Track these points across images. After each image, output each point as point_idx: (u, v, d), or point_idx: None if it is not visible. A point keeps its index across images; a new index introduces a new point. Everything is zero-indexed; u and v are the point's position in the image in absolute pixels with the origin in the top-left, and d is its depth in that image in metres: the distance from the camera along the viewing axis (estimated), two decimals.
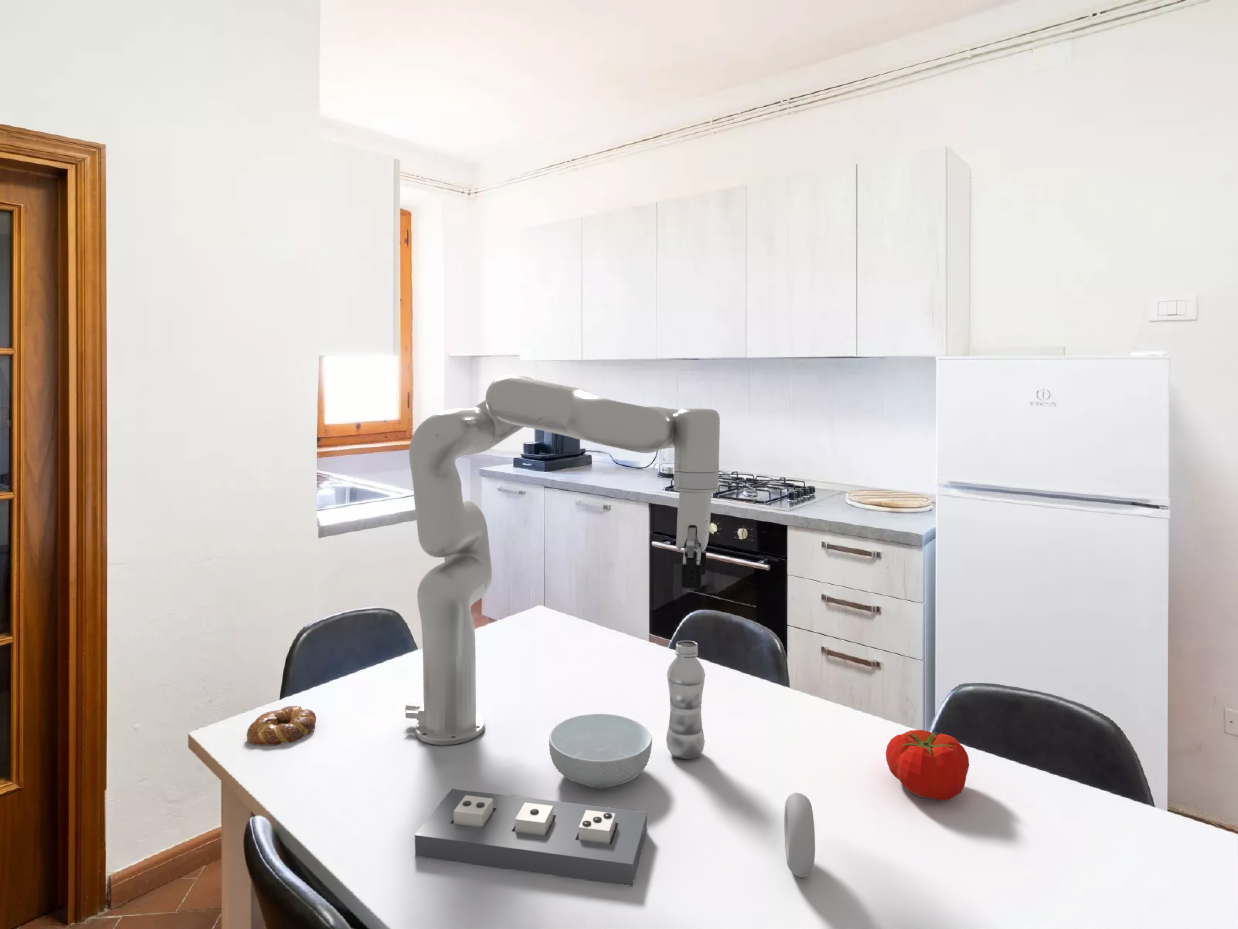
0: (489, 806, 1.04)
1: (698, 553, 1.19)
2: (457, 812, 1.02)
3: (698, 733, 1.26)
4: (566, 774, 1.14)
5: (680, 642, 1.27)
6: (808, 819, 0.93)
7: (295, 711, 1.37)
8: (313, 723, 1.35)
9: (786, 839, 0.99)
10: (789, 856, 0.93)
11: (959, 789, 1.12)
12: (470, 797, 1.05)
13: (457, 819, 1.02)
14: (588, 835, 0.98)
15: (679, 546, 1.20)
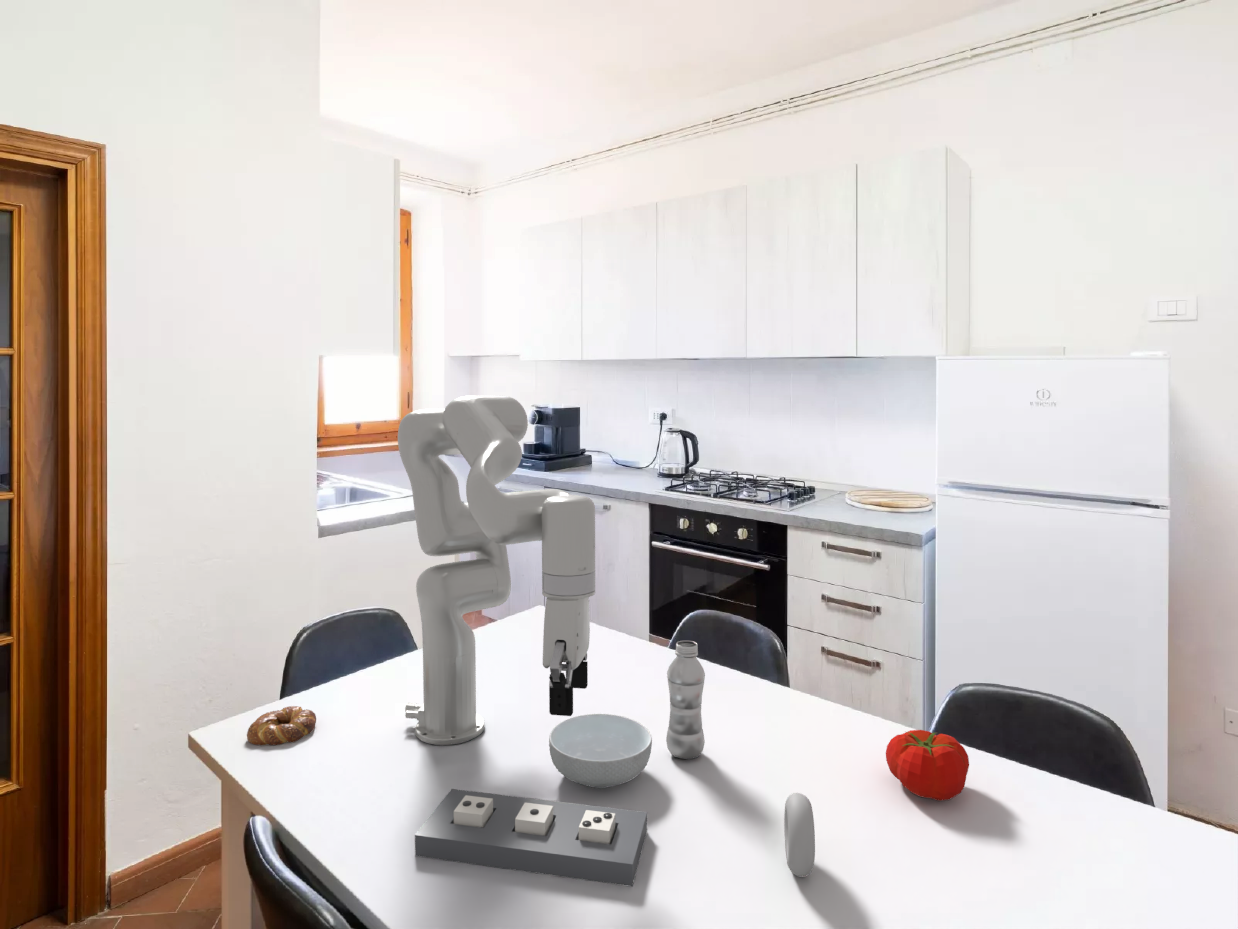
0: (489, 806, 1.04)
1: (568, 673, 0.99)
2: (457, 812, 1.02)
3: (698, 733, 1.26)
4: (566, 774, 1.14)
5: (680, 642, 1.27)
6: (808, 819, 0.93)
7: (295, 711, 1.37)
8: (313, 723, 1.35)
9: (786, 839, 0.99)
10: (789, 856, 0.93)
11: (959, 789, 1.12)
12: (470, 797, 1.05)
13: (457, 819, 1.02)
14: (588, 835, 0.98)
15: (546, 665, 0.99)
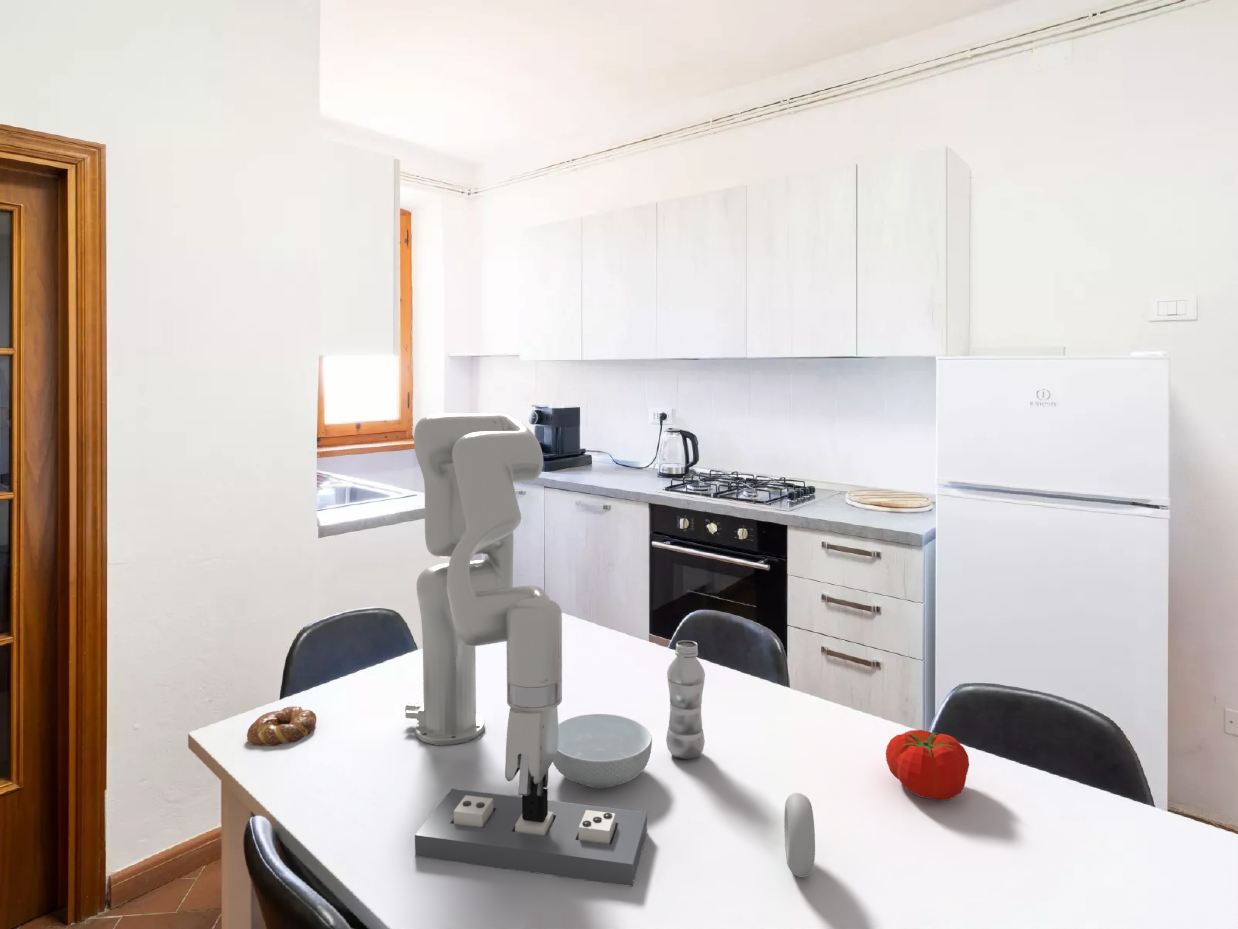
0: (489, 806, 1.04)
1: (540, 781, 1.00)
2: (457, 812, 1.02)
3: (698, 733, 1.26)
4: (566, 774, 1.14)
5: (680, 642, 1.27)
6: (808, 819, 0.93)
7: (295, 711, 1.37)
8: (313, 723, 1.35)
9: (786, 839, 0.99)
10: (789, 856, 0.93)
11: (959, 789, 1.12)
12: (470, 797, 1.05)
13: (457, 819, 1.02)
14: (588, 835, 0.98)
15: (508, 778, 0.96)
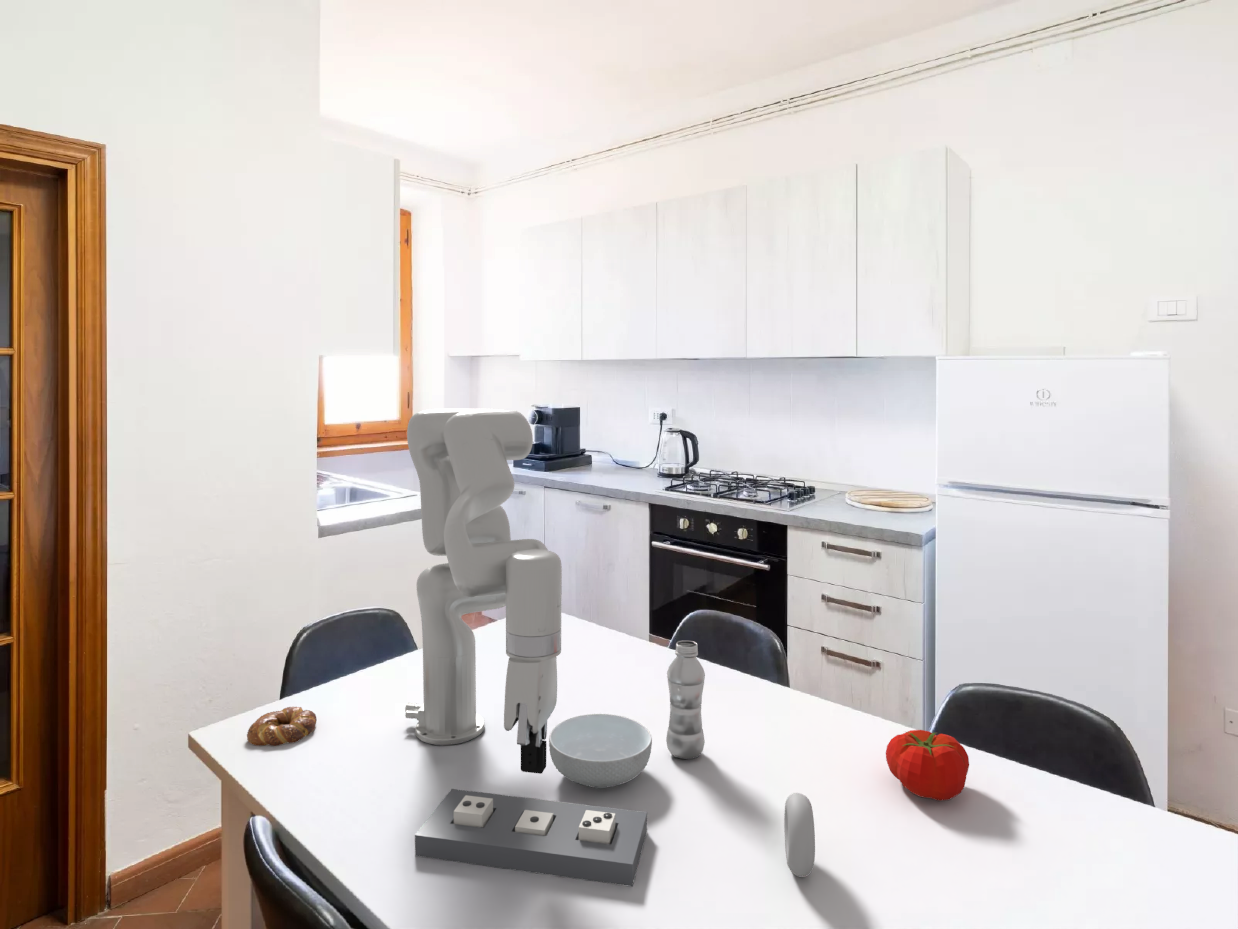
0: (489, 806, 1.04)
1: None
2: (457, 812, 1.02)
3: (698, 733, 1.26)
4: (566, 774, 1.14)
5: (680, 642, 1.27)
6: (808, 819, 0.93)
7: (295, 712, 1.36)
8: (313, 724, 1.35)
9: (786, 839, 0.99)
10: (789, 856, 0.93)
11: (959, 789, 1.12)
12: (470, 797, 1.05)
13: (457, 819, 1.02)
14: (588, 835, 0.98)
15: (507, 728, 0.96)
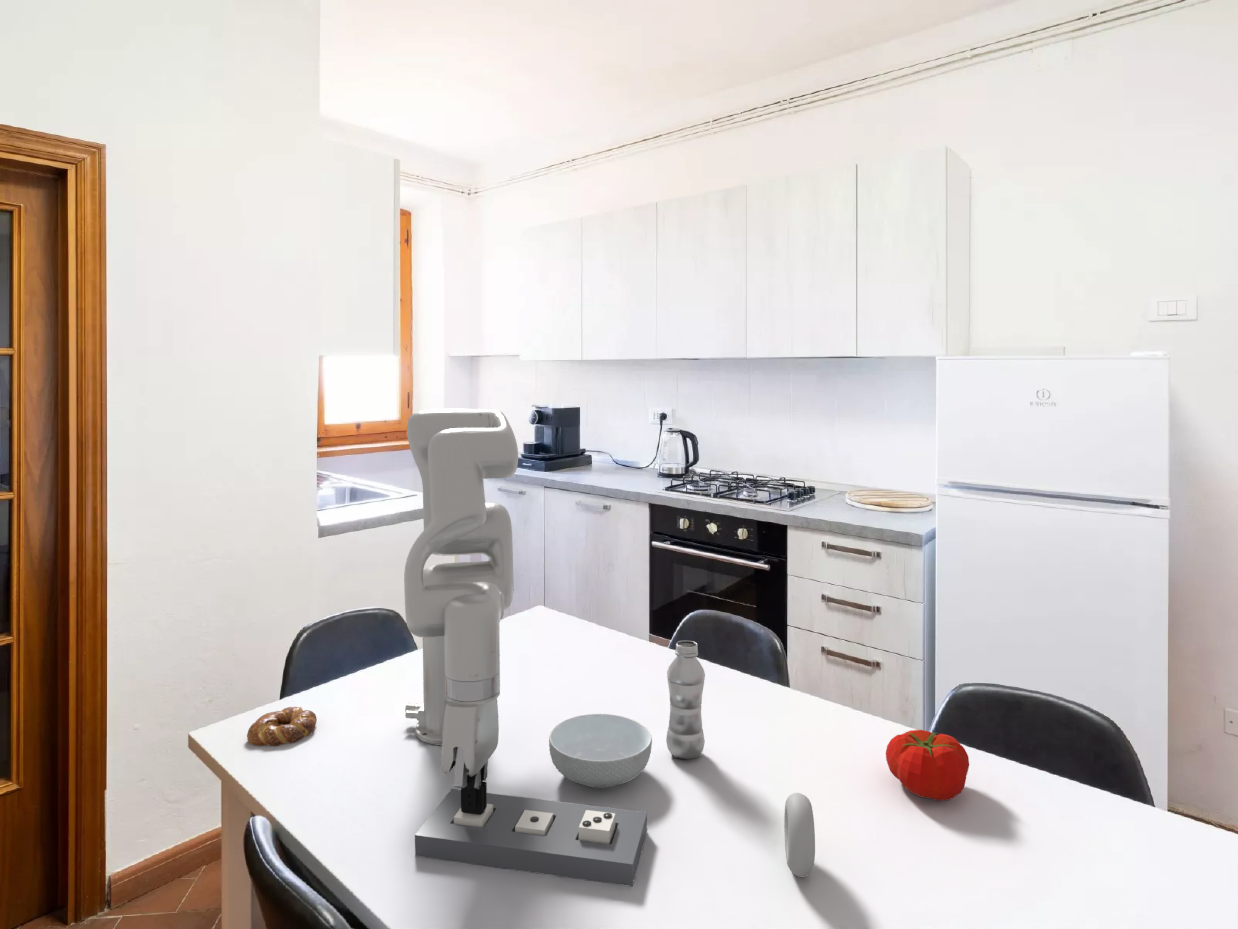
0: (489, 812, 1.04)
1: None
2: (457, 818, 1.02)
3: (698, 733, 1.26)
4: (566, 774, 1.14)
5: (680, 642, 1.27)
6: (808, 819, 0.93)
7: (295, 712, 1.36)
8: (313, 724, 1.35)
9: (786, 839, 0.99)
10: (789, 856, 0.93)
11: (959, 789, 1.12)
12: None
13: None
14: (588, 835, 0.98)
15: (444, 771, 0.98)
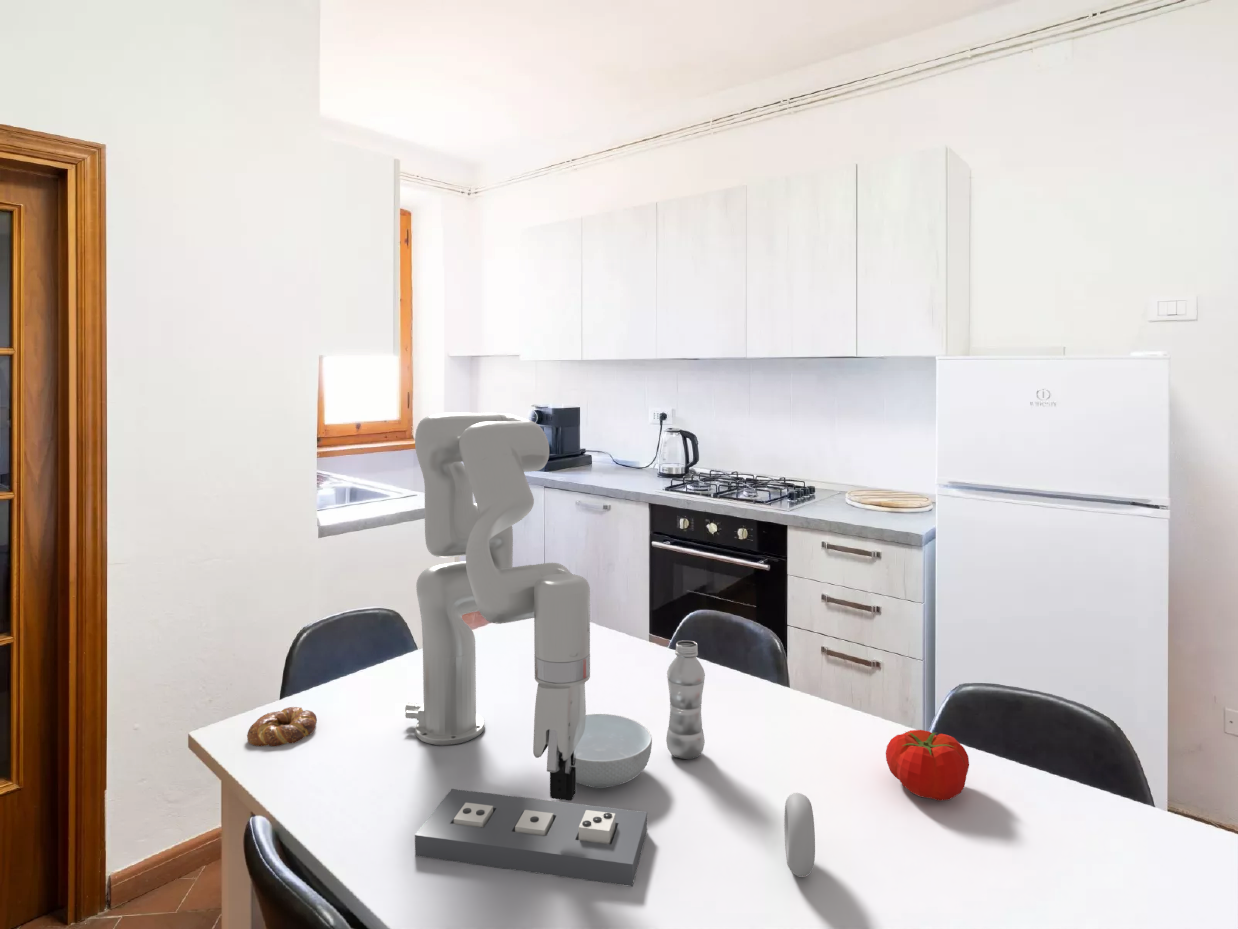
0: (489, 814, 1.04)
1: None
2: (457, 820, 1.02)
3: (698, 733, 1.26)
4: None
5: (680, 642, 1.27)
6: (808, 819, 0.93)
7: (296, 712, 1.36)
8: (314, 724, 1.35)
9: (786, 839, 0.99)
10: (789, 856, 0.93)
11: (959, 789, 1.12)
12: (470, 804, 1.05)
13: None
14: (588, 835, 0.98)
15: (536, 755, 0.95)
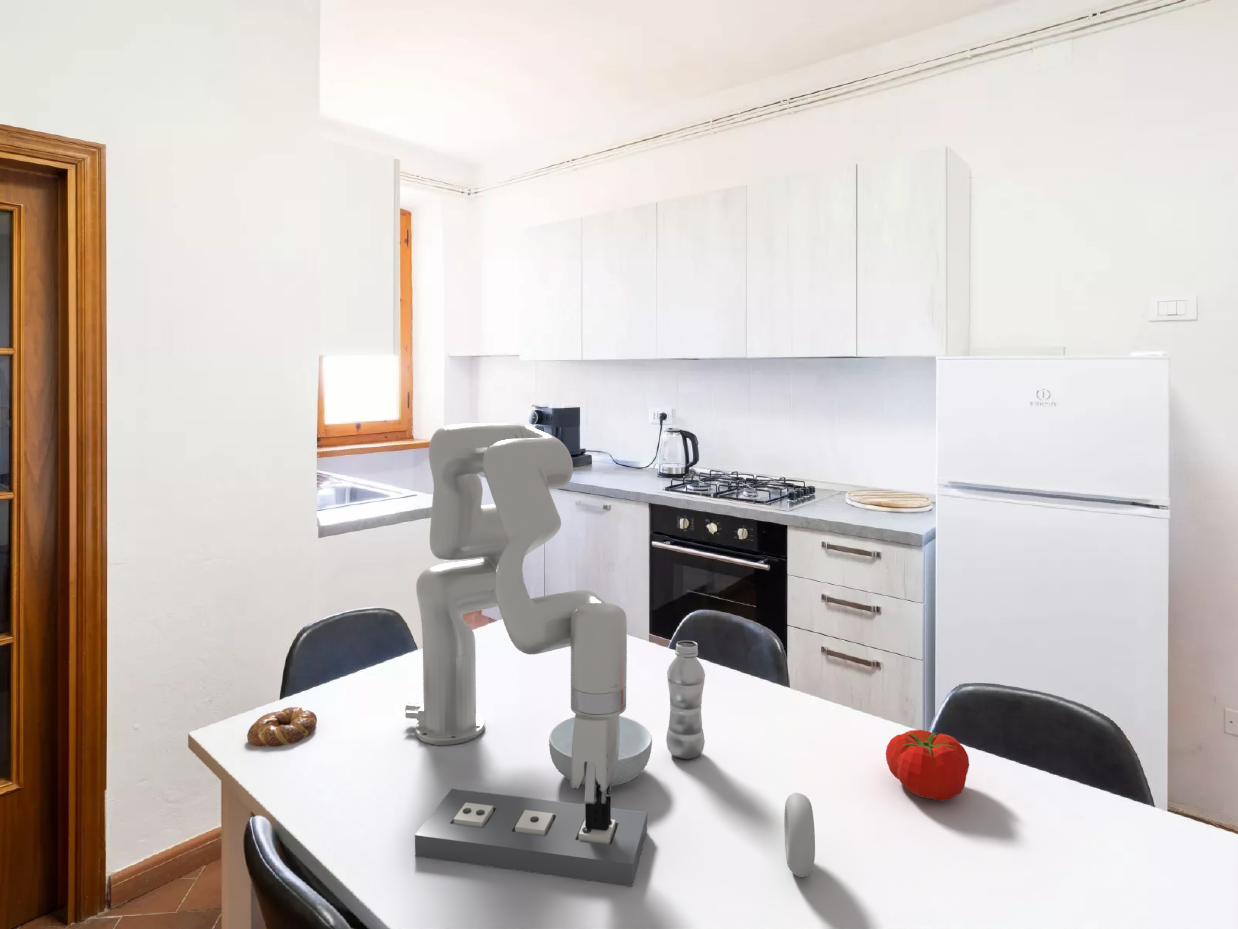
0: (489, 814, 1.04)
1: None
2: (457, 820, 1.02)
3: (698, 733, 1.26)
4: (566, 774, 1.14)
5: (680, 642, 1.27)
6: (808, 819, 0.93)
7: (296, 712, 1.36)
8: (314, 724, 1.35)
9: (786, 839, 0.99)
10: (789, 856, 0.93)
11: (959, 789, 1.12)
12: (470, 804, 1.05)
13: None
14: None
15: (574, 786, 0.95)
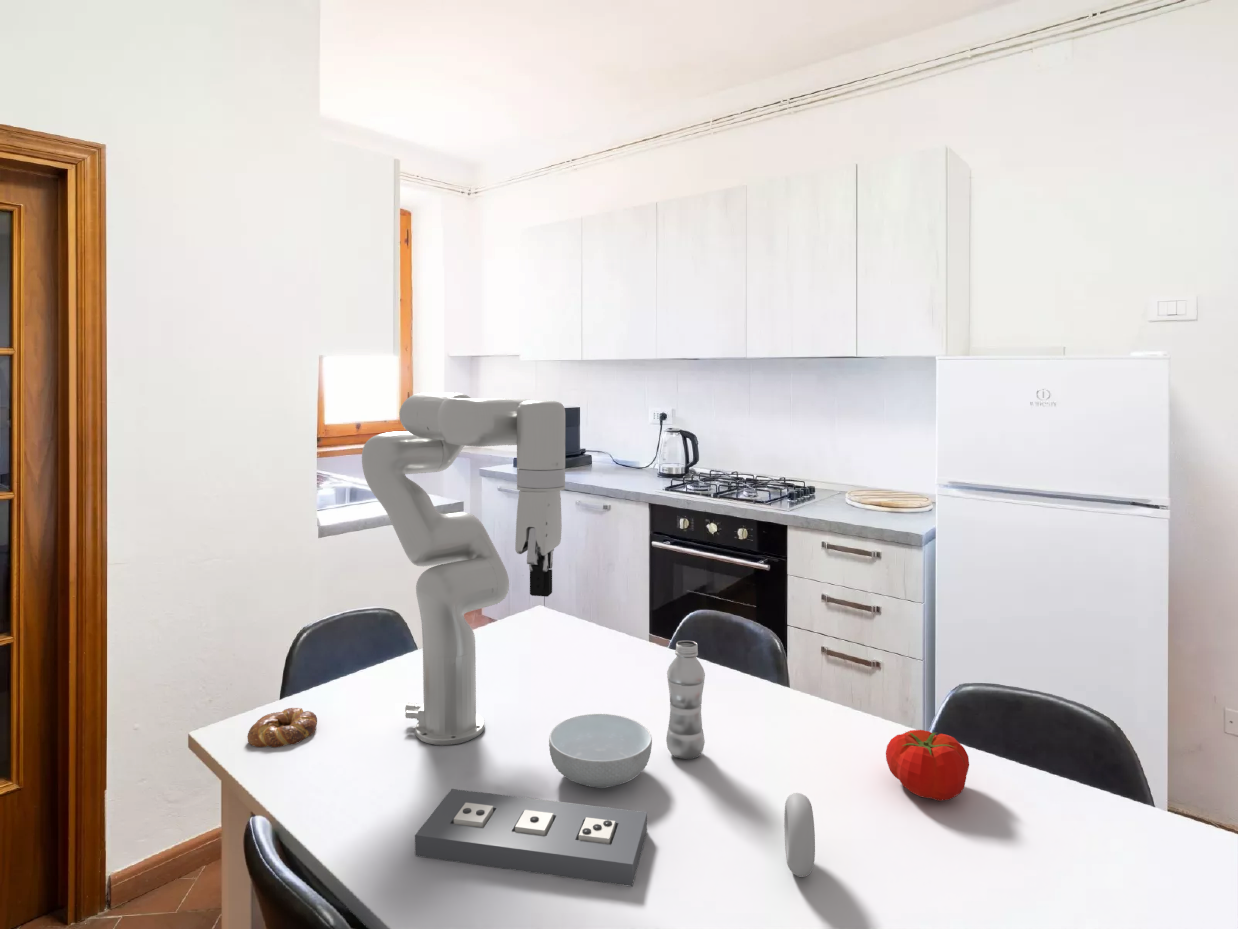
0: (489, 814, 1.04)
1: None
2: (457, 820, 1.02)
3: (698, 733, 1.26)
4: (566, 774, 1.14)
5: (680, 642, 1.27)
6: (808, 819, 0.93)
7: (296, 713, 1.36)
8: (314, 725, 1.34)
9: (786, 839, 0.99)
10: (789, 856, 0.93)
11: (959, 789, 1.12)
12: (470, 804, 1.05)
13: None
14: None
15: (518, 550, 1.10)
